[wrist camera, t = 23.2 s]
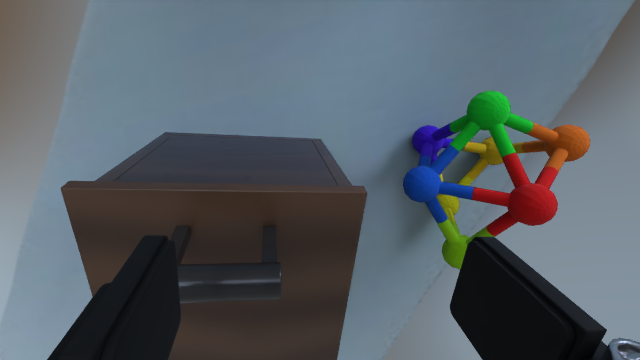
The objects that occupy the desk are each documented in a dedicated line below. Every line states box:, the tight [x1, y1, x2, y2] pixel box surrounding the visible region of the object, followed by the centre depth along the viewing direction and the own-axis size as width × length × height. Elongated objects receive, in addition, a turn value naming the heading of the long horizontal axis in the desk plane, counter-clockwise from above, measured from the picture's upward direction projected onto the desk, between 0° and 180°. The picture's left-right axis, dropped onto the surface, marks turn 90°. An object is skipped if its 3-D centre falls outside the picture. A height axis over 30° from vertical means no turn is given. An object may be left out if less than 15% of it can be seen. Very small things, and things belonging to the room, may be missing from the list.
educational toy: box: [403, 91, 590, 269], centre depth 29 cm, size 16×13×15 cm
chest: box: [96, 132, 352, 186], centre depth 28 cm, size 16×15×14 cm
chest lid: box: [61, 181, 367, 360], centre depth 18 cm, size 17×15×5 cm
